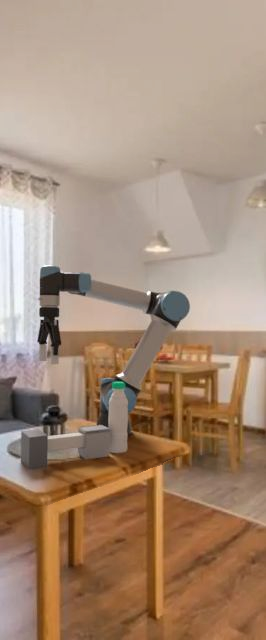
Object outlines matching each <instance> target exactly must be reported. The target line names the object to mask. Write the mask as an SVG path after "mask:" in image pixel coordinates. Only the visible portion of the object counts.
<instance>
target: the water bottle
mask: <svg viewBox="0 0 266 640" xmlns="http://www.w3.org/2000/svg"><path fill="white" fill-rule="evenodd" d="M112 388H113V393H112V395H111V398H110V400H109V416H108V425H109V429H110V454H111V453H112V454H123V453H126V452H127V451H128V434H127V426H128V417H129V414H128V407H127V406H128V400H127V398H126V395H125V393H124V390H125V383H124V382H113V383H112Z"/></svg>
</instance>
